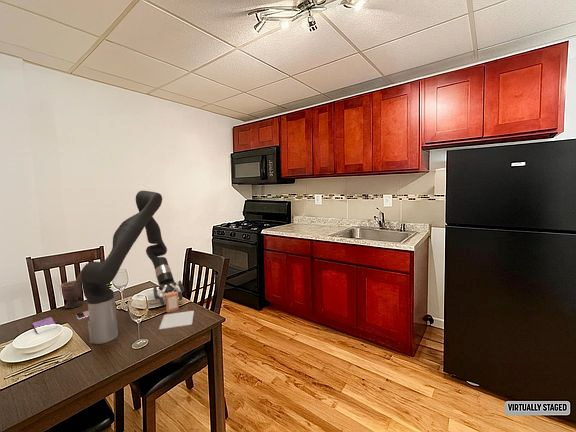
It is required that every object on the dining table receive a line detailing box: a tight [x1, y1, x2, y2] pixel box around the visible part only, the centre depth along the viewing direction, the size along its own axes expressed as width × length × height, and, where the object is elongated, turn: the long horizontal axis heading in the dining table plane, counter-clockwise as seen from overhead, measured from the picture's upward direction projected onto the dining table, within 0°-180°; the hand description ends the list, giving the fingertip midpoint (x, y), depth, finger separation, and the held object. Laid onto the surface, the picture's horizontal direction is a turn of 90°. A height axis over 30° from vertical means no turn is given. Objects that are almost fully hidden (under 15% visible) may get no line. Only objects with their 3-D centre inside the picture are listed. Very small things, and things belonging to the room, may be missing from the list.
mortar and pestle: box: [60, 269, 83, 309], centre depth 147 cm, size 12×9×20 cm
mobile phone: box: [75, 310, 89, 320], centre depth 139 cm, size 8×1×15 cm
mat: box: [158, 310, 195, 331], centre depth 129 cm, size 14×14×1 cm
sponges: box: [32, 316, 56, 329], centre depth 126 cm, size 7×13×2 cm, turn 50°
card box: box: [164, 291, 180, 314], centre depth 138 cm, size 3×6×9 cm, turn 130°
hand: (172, 302), depth 137 cm, fingers open, 8 cm apart
